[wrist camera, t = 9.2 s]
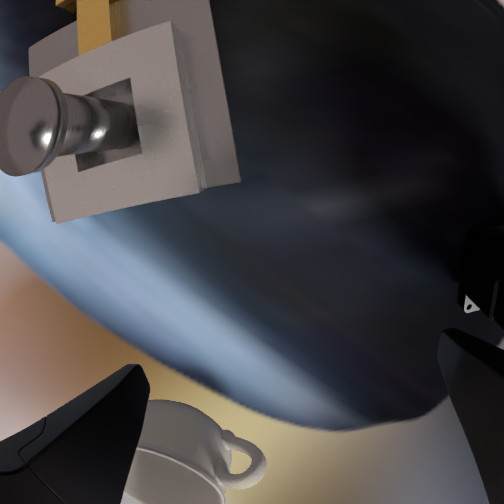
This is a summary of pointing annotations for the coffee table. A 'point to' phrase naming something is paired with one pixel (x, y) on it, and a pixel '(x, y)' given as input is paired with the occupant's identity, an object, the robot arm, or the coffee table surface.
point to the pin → (57, 125)
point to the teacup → (187, 458)
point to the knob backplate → (140, 103)
